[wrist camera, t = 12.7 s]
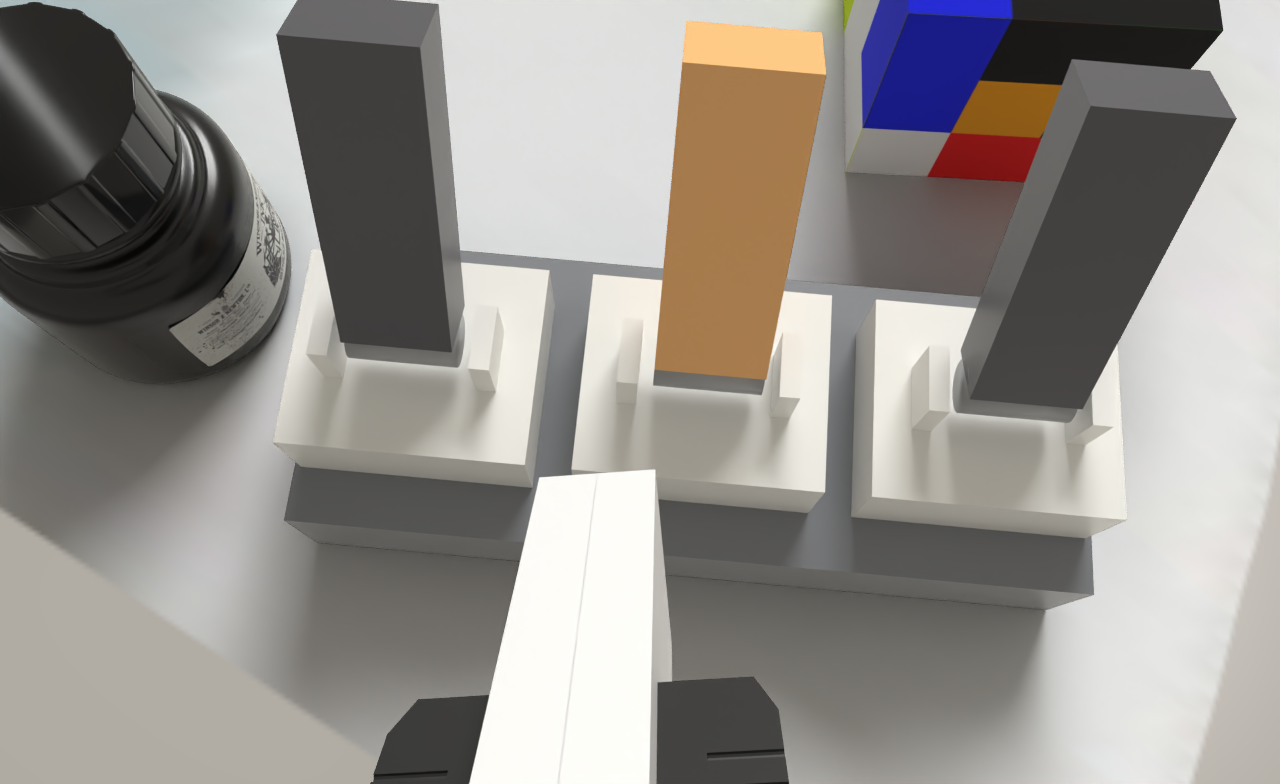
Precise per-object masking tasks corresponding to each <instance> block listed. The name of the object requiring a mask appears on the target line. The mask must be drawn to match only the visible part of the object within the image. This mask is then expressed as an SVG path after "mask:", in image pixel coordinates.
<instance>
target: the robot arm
mask: <svg viewBox="0 0 1280 784" xmlns="http://www.w3.org/2000/svg"><path fill="white" fill-rule="evenodd" d="M370 784H789V780H788V773H787V766H786V759H785V755H784V745H783V738H782V732H781V725H780V718H779V711H778V708H777V707H776V706H775V704H774V703H773V702H772V700H771V699H770V698H769V696H768V695H767V694H766V693H765V691H764V690H763V689H762V687H761V686H760V685H759V683H758V682H757V681H756V679H755V678H754V677H739V678H721V679H704V680H687V681H672V640H671V629H670V619H669V608H668V598H667V587H666V577H665V566H664V556H663V545H662V535H661V524H660V513H659V503H658V492H657V482H656V471H655V469H653V470H639V471H625V472H610V473H596V474H581V475H567V476H553V477H539V481H538V486H537V490H536V494H535V499H534V503H533V507H532V512H531V516H530V521H529V525H528V529H527V534H526V538H525V542H524V547H523V551H522V555H521V560H520V564H519V569H518V573H517V577H516V582H515V586H514V590H513V595H512V599H511V604H510V608H509V612H508V617H507V621H506V625H505V630H504V634H503V638H502V643H501V647H500V652H499V656H498V660H497V665H496V669H495V673H494V678H493V682H492V687H491V691H490V695H485V696H468V697H450V698H433V699H418V700H417V701H416V703H415V704H414V705H413V706H412V707H411V708H410V709H409V711H408V712H407V713H406V714H405V715H404V716H403V717H402V718H401V720H400V721H399V722H398V723H397V724H396V725H395V726H394V728H393V729H392V730H391V731H390V732H389V733H388V734H387V737H386V740H385V743H384V746H383V748H382V751H381V754H380V757H379V760H378V763H377V766H376V769H375V772H374V781H373V782H371V783H370Z"/></svg>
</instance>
